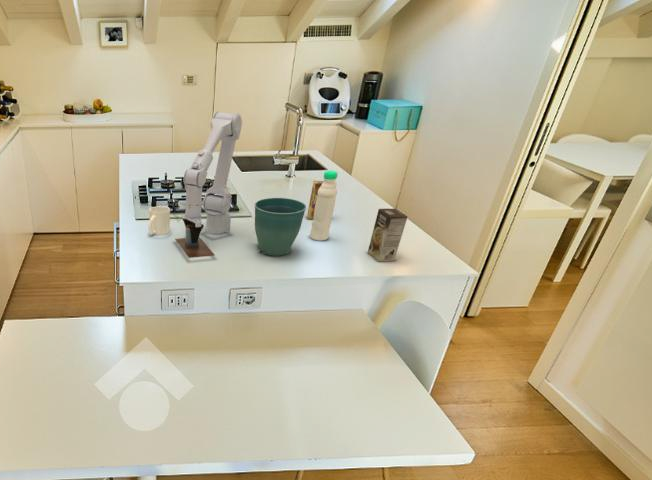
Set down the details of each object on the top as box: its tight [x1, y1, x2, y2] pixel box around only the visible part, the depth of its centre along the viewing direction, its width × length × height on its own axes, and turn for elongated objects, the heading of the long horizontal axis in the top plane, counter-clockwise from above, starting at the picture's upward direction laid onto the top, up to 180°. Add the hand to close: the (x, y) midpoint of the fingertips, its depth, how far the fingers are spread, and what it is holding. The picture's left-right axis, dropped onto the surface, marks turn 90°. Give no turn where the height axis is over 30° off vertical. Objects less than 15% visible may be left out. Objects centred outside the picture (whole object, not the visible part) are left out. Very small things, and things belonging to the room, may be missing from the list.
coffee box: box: [367, 208, 408, 262], centre depth 180 cm, size 9×6×16 cm
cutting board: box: [174, 236, 215, 259], centre depth 192 cm, size 20×10×2 cm, turn 12°
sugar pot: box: [184, 225, 201, 246], centre depth 192 cm, size 6×6×8 cm
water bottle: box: [309, 170, 338, 241], centre depth 194 cm, size 7×7×25 cm
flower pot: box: [254, 197, 307, 256], centre depth 186 cm, size 18×18×17 cm
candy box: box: [306, 180, 337, 220], centre depth 216 cm, size 9×4×15 cm, turn 86°
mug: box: [148, 205, 171, 236], centre depth 203 cm, size 12×8×10 cm
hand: (192, 239), depth 193 cm, fingers closed on sugar pot, 5 cm apart
